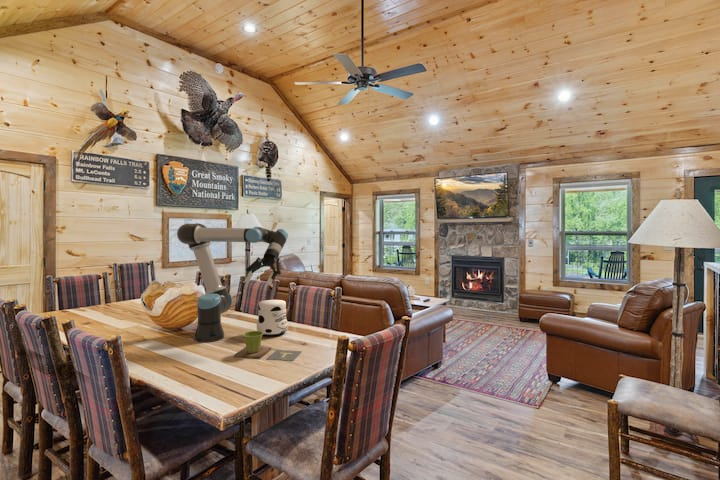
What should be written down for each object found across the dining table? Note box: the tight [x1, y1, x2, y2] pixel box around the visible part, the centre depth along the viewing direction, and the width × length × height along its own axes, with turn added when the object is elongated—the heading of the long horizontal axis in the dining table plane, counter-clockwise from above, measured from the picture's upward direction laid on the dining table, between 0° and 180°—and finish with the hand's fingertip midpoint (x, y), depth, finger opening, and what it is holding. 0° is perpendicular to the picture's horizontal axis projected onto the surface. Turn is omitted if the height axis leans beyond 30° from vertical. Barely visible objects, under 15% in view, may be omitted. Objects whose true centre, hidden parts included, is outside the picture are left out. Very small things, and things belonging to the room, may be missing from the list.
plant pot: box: [242, 330, 264, 353], centre depth 184 cm, size 9×9×9 cm
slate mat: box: [266, 349, 303, 362], centre depth 181 cm, size 13×13×1 cm
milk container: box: [256, 299, 289, 337], centre depth 218 cm, size 17×17×18 cm
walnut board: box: [233, 346, 272, 360], centre depth 184 cm, size 13×13×1 cm
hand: (257, 283), depth 198 cm, fingers open, 13 cm apart
